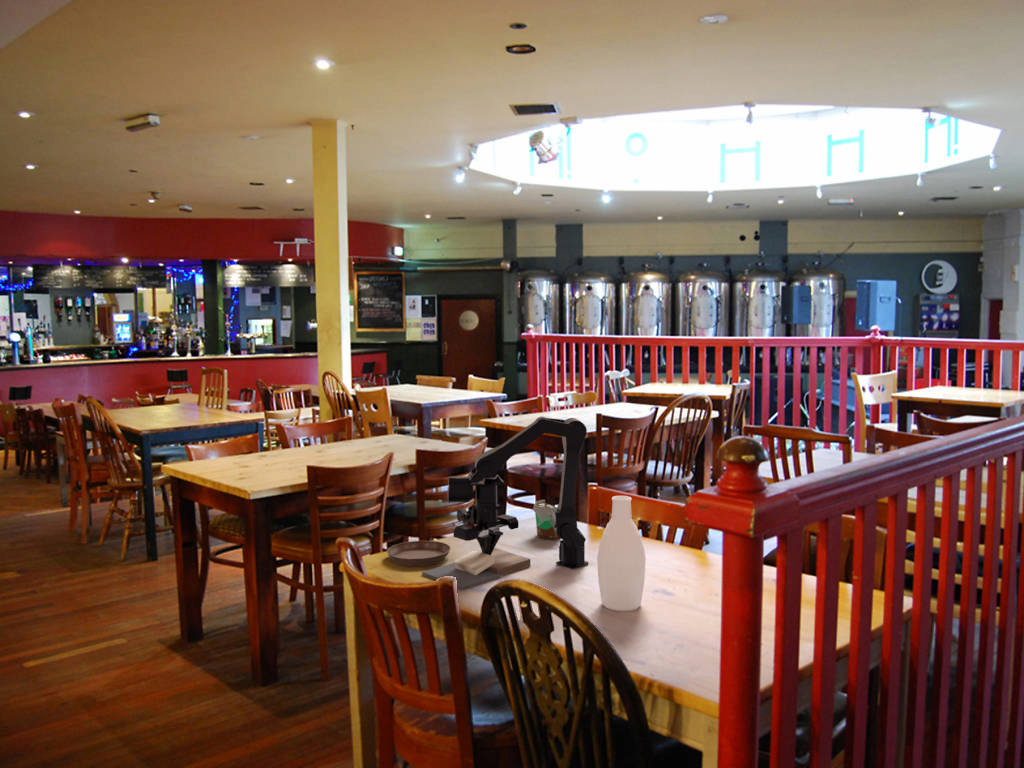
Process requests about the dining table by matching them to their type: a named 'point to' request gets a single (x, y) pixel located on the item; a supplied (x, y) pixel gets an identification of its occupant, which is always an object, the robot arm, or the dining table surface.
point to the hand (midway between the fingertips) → (486, 558)
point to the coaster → (474, 562)
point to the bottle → (621, 560)
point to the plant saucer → (418, 553)
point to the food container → (544, 520)
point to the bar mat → (461, 576)
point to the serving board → (507, 562)
